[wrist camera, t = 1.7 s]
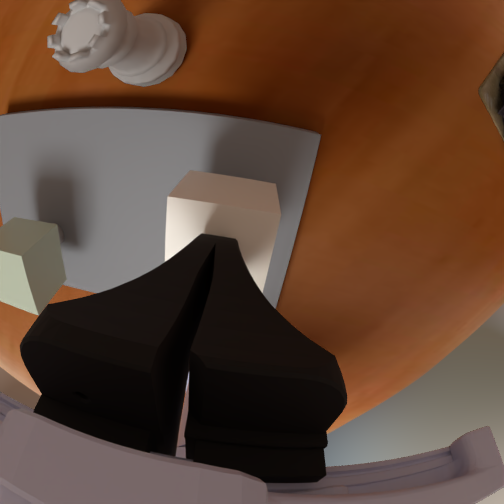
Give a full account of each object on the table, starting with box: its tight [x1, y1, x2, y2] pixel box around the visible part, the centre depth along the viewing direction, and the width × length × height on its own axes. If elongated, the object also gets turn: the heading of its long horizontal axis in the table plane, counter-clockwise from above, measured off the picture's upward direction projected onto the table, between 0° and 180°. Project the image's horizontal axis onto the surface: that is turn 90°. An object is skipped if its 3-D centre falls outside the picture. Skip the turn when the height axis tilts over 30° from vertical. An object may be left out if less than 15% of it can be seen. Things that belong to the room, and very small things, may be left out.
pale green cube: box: [0, 217, 67, 315], centre depth 14 cm, size 4×4×4 cm
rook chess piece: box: [48, 0, 187, 87], centre depth 10 cm, size 4×4×8 cm
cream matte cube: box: [165, 170, 281, 293], centre depth 13 cm, size 4×4×4 cm
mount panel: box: [0, 107, 321, 309], centre depth 16 cm, size 13×22×4 cm, turn 80°
